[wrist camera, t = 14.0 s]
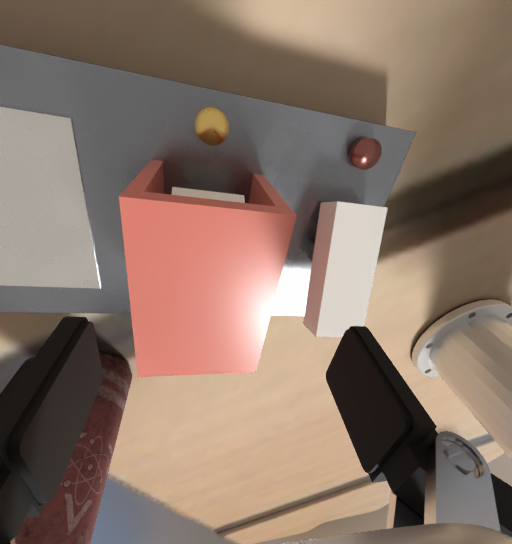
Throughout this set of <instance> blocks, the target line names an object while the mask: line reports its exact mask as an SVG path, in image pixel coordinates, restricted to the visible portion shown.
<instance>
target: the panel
mask: <svg viewBox="0 0 512 544" xmlns="http://www.w3.org/2000/svg"><path fill="white" fill-rule="evenodd" d="M415 134H416V132H412V131H408V130H403V129H398V128H393V127H389V126H384V125H379V124H374V123H370V122H365V121H360V120H355V119H351V118H346V117H341V116H336V115H332V114H327V113H322V112H317V111H313V110H308V109H303V108H298V107H294V106H289V105H284V104H280V103H275V102H270V101H265V100H261V99H256V98H251V97H246V96H242V95H237V94H232V93H227V92H223V91H218V90H213V89H208V88H204V87H199V86H194V85H189V84H185V83H180V82H175V81H170V80H166V79H161V78H156V77H151V76H147V75H142V74H137V73H132V72H128V71H123V70H118V69H113V68H109V67H104V66H99V65H94V64H90V63H85V62H80V61H75V60H71V59H66V58H61V57H56V56H52V55H47V54H42V53H37V52H33V51H28V50H23V49H19V48H14V47H9V46H4V45H0V312H31V313H118V314H131V307H130V297H129V288H128V278H127V269H126V259H125V250H124V240H123V231H122V221H121V211H120V202H119V196H120V195H121V194H122V192H123V191H124V190H125V189H126V188H127V187H128V185H129V184H130V183H131V182H132V181H133V180H134V179H135V177H136V176H137V175H138V174H139V173H140V172H141V170H142V169H143V168H144V167H145V166H146V165H147V163H148V162H149V161H150V160H151V159H152V160H159V161H163V173H164V194H170V195H171V194H172V187H179V188H187V189H195V190H204V191H212V192H220V193H229V194H237V195H244V199H245V203H249V198H250V192H251V185H252V179H253V174H258V175H264V176H265V178H266V179H267V180H268V181H269V182H270V184H271V185H272V186H273V187H274V189H275V190H276V191H277V192H278V193H279V195H280V196H281V197H282V198H283V200H284V201H285V202H286V203H287V204H288V206H289V207H290V208H291V209H292V210H293V212H294V213H295V214H296V215H297V217H296V220H295V224H294V228H293V232H292V236H291V240H290V243H289V247H288V251H287V255H286V259H285V263H284V266H283V270H282V274H281V278H280V282H279V286H278V289H277V293H276V297H275V301H274V305H273V309H272V312H271V315H292V316H304V314H305V308H306V301H307V294H308V287H309V280H310V273H311V266H312V259H313V253H314V246H315V239H316V232H317V225H318V218H319V211H320V204H321V202H335V201H339V202H346V203H354V204H362V205H370V206H378V207H384V206H385V203H386V201H387V199H388V196H389V194H390V192H391V190H392V187H393V185H394V183H395V180H396V178H397V176H398V173H399V171H400V169H401V167H402V164H403V162H404V160H405V157H406V155H407V153H408V150H409V148H410V146H411V144H412V141H413V139H414V137H415Z"/></svg>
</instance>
